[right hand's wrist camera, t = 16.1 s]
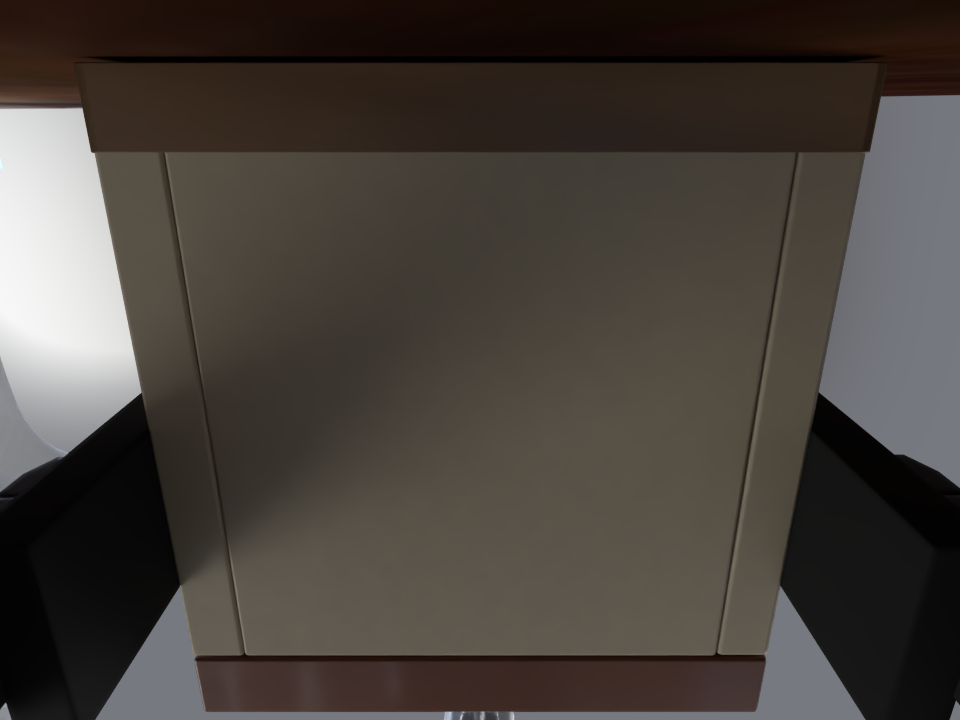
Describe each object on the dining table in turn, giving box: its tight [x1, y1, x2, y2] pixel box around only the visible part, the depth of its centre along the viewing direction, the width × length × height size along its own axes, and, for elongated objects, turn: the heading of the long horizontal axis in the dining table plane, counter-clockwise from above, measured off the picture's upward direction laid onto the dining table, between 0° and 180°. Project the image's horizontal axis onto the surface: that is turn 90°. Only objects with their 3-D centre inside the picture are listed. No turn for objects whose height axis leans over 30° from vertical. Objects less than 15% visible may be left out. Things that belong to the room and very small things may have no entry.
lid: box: [195, 651, 766, 712], centre depth 19 cm, size 14×9×9 cm
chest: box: [74, 62, 887, 655], centre depth 15 cm, size 13×9×9 cm
